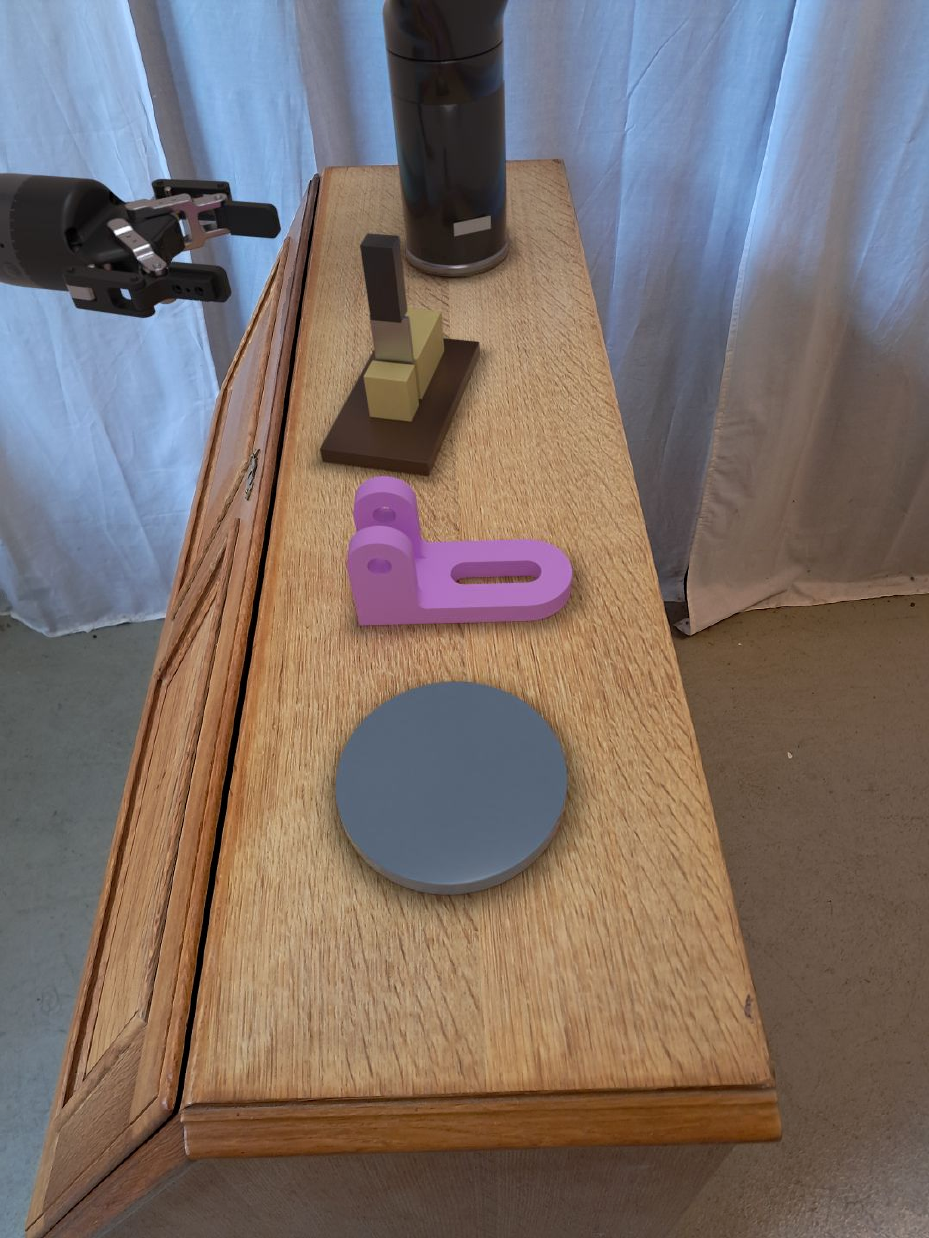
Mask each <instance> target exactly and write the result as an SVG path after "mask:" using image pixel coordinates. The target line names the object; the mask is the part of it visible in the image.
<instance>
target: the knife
mask: <svg viewBox="0 0 929 1238" xmlns="http://www.w3.org/2000/svg"><path fill="white" fill-rule="evenodd" d="M359 249H360V256H361V262H362V269H363V276H364V282H365V289H366V297H367V303H368V311H369V321H370V323H369V324H370V329H371V337H372V343H373V351H375V358H376V361H382V362H391V363H400V364H410V365H415V364H414V354H413V345H412V336H411V327H410V318H409V316H405V314H406V313H407V308H408V303H407V293H406V283H405V275H404V265H403V256H402V248H401V238H400V235H396V234H395V235H394V234H383V233H369V232H368V233H366V235H365V237H364V238H363V240H362V241H361V243H360V244H359ZM418 401H419V400H418Z"/></svg>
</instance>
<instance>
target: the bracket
mask: <svg viewBox="0 0 929 1238" xmlns="http://www.w3.org/2000/svg"><path fill="white" fill-rule="evenodd" d="M417 500H418V498H417V494H416V493H415V490H414V489H413V488H412V487H411V485H410V484H408V483H407V482H405V481H404V480H402V479H400V478H397V477H393V476H389V475H380V476H373V477H371V478H370V477H369V478H368V479H366V480H365V481H363V482H362V483H361V484H360V485H358V487H357V489H356V491H355V494H354V501H353V509H352V517H353V522H354V526H355V533H354V534H353V535H352V536H351V538H350V540H349V543H348V548H347V549H348V550H347V555H346V556H347V557H346V570H347V574H348V580H349V583H350V584H349V585H350V588H351V592H352V597H353V603H354V606H355V612H356V615H357V620H358V624H359V626H389V625H390V626H391V625H394V626H395V625H422V624H423V625H428V624H429V625H430V624H432V625H433V624H461V623H462V624H466V623H467V624H469V623H501V622H503V623H504V622H506V623H507V622H533V621H539V620H542V619H545V618H548V617H551V616H553V615H554V614H556V613H558V612H559V611H560V610H561V609H563V607H565V605H566V604H567V602H568V601H569V600H570V597H571V592H572V584H573V583H572V581H573V568H572V564H571V562H570V560H569V557H568V556H567V555H566V554H565V553H564V551H562V550H561V549H560V548H558V547H557V546H555V545H553V544H552V543H549V542H547V541H544V540H539V539H533V538H532V539H531V538H530V539H529V538H517V539H515V538H514V539H490V540H489V539H485V540H484V539H483V540H454V541H453V540H451V541H450V540H449V541H427V540H424V539H423V537H422V531H421V523H420V516H419V515H420V513H419V508H418V507H419V506H418V501H417ZM497 577H500V578H501V577H531V578H534V579H535V580H533V581H529V582H499V583H498V582H497V583H467V584H466V583H458V582H457V581H459V580H461V579H466V578H497Z"/></svg>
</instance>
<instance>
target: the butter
mask: <svg viewBox="0 0 929 1238" xmlns="http://www.w3.org/2000/svg"><path fill="white" fill-rule="evenodd" d="M405 316H409V318H410V327H411V336H412V345H413V354H414V364H415V373H416V382H417V391H418V399H422V398H423V396H424V393H425V391H426V389H427V387H428V385H429V383H430V381H431V378H432V376H433V374H434V372H435V370H436V368H437V366H438V363H439V361H440V359H441V357H442V355H443V353H444V339H443V338H444V328H443V315H442V310H435V309H426V308H425V309H423V308H416V307H415V308H414V307H407V313H406V314H405Z"/></svg>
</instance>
